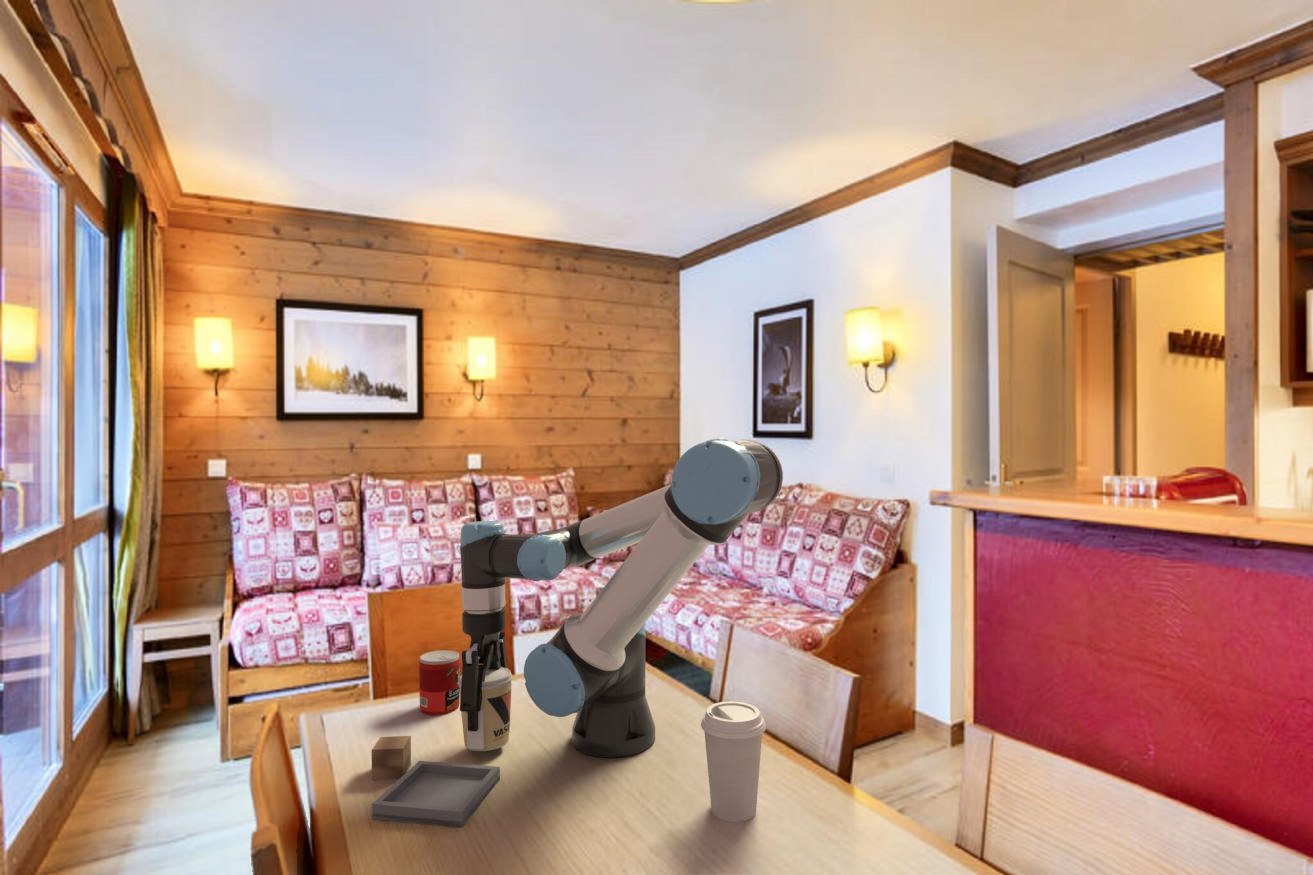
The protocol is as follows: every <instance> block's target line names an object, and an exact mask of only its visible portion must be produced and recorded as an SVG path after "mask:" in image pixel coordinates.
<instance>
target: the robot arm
mask: <svg viewBox="0 0 1313 875" xmlns="http://www.w3.org/2000/svg"><path fill="white" fill-rule="evenodd" d="M783 471H784V470H783V468H782V464H781V462H780V460H779V458H778V456H777V455H776V453H775V452H774V450H772V448H770V447H769V446H767V445H766V444H764V443H761V442H759V441H757V440H751V439H734V440H733V439H732V440H731V439H728V438H715V439H710V440H706V441H703V442H700V443H698V444H696V445H694V446H692V447H689V449H687V450H686V451H685V452H684V453H683V454H682V455H681V456H680V458H679V459H678V460H677V462H676V464H675V466H674V467H673V471H672V474H671V479H670V480H671V484H669V485H667V486H663V487H661V488H659V489H656V490H654V491H651V492H648V493H647V494H646V493H645V494H644V495H641V496H639V497H636V498H634V499H631V500H628V501H627V502H624V503H622V504H619V505H617V506H613V507H612V508H609V509H607V510H604V511H602V512H600V513H597V514H595V515H592V516H589V517H588V518H587V517H586V518H583V520H579V521H577V522H575V523H573V524H569V525H567V526H565V527H564V526H563V527H561V528H556V529H550V530H546V531H545V530H544V531H539V532H535V533H529V534H508V533H505V530H504V528H505V527H504V524H503V523H502V522H501V521H497V520H480V521H471V522H467V523H464V524H463V525H462V526H461V530H460V542H459V543H460V546H459V550H460V565H461V590H459V594H460V596H461V604H462V605H461V607H462V610H463V612H462V613H461V619H462V620H461V623H462V624H461V625H462V628H461V629H462V632H463V633H464V634H465V635H468V636H470V643H469V650H462V652H461V663H462V668H461V669H462V670H461V671H462V672H461V675H462V682H461V697H460V703H459V711H460V712H461V711H463V712H467V748H468V750H469V749H483V748H484V715H483V709H481V703H482V682H484V681H485V676H486V671H487V670H488V669H491V670H499V669H500V667H503V668H507V669H508V670H509V667H508V658H507V656H508V655H507V648H506V631H505V630H506V627H507V623H506V622H507V620H506V618H507V617H506V609H505V608H504V607H505V606H506V604H507V602H506V601H507V600H506V581H505V580H506V579H516V580H517V579H518V580H519V579H520V580H529V581H533V582H540V581H553V580H555V579H557V578H558V577H559V575H560V574H561V573H562V572H563V571H564V570H566V569H567V570H568V569H570V568H574V567H579V566H584V565H586V564H588V563H590V562H592V561H594V560H596V559H598V558H600V557H603V556H607V555H609V554H611V553H615V552H617V551H620V550H622V549H625V548H629V547H630V546H633V545H636V546H635V547H634V548H633V550H632V551H631V552H630V553H629V554H628V555H627V557H626V558H625V560H624V561H623V562H622V564H621V565H620V566H619V567H618V569H617V570H616V571H615V573H614V574H613V575H612V576H611V578H610V579H609V580H608V581H607V583H606V584H605V585H604V586H603V587H602V589H601V590H600V591H599V593H598V594H597V595H596V597H595V598H594V599H593V600H592V602H591V603H590V605H589V606H588V607H587V608H586V610H585V611H584V612H583V613H581V612H578V613H573V614H571V615H569V617H567V618H566V620H565V621H564V623H562V625H561V627H560V628H559V629H558V630H557V631H556V633H555V634H554V635H553V637H552V638H550V639H549V641H547V642H546V643H541V644H539V645H538V646H536V647H535V648H534V649H532V650H531V651H530V652H529V653H528V655H527V657H526V659H525V661H524V665H523V679H524V680H525V683H524V685H525V688H526V692H527V693H528V695H529V696H528V697H529V698H530V699H531V701H532V702H533V703H534V705H535V706H536V707H537V708H538V709H539V710H541V711H542V712H543V713H545V714H546V715H548V716H551V717H557V718H564V717H567V716H570V715H572V714H576V716H575V719H574V722H573V724H572V725H573V726H572V730H571V741H572V745H573V746H574V748H575V749H576V750H578V751H579V752H582V753H583V754H587V755H589V756H594V757H602V758H620V757H629V756H632V755H637V754H640V753H642V752H644V751H646V750H649V748H651V747H652V746H653V745H654V743H655V742H656V725H655V724H656V723H655V722H654V721H655V720H654V718H653V715H652V713H651V709H650V705H649V702H648V700H647V695H646V638H647V634H646V626H645V625H646V623H647V621H648V620H649V618H650V617H651V616H652V615H653V614H654V613H655V611H656V610H657V609H658V608H659V606H660V605H661V604H662V603H663V602H664V601H665V599H667V597H668V596H669V594H670V593H671V592H672V591H673V589H674V588H675V587H676V586H677V585H678V583H680V581H681V580H682V579H683V578H684V576H685V575H686V574H687V573H688V571H689V570H690V569H691V568H692V566H693V565H694V564H695V563H696V562H697V561H698V560H699V558H700V557H701V556H702V554H703V553H704V552H705V551H706V550H707V548H708V547H709V546H721V545H723V544H725V543H726V542H727V541H728V539H729V538H730V537H731V535H732V534H733V533H734V532H735V531H736V530H737V528H738V527H739V526H740V525H741V523H743V521H744V520H745V519H746V518H747V517H748V515H751V514H753V513H756V512H760V511H762V510H765V509H766V508H768V507H769V506H770V505H772V503H773V502H774V501H775V500H776V499H777V497H778V496H779V494H780V492H781V489H782V486H783V480H784V472H783ZM467 748H466V749H467Z"/></svg>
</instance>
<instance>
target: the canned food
mask: <svg viewBox="0 0 1313 875" xmlns="http://www.w3.org/2000/svg"><path fill="white" fill-rule="evenodd" d="M418 666H419V667H418V672H419V673H418V675H419V677H418V678H419V679H418V682H419V684H418V686H419V689H418V690H419V693H418V694H419V709H420V712H421V714H424V715H428V716H441V715H446V714H450V713H453V712H455V711H456V710H458V709H459V708H460V689H459V685H458V680H459V679H460V676H461V675H460V670H461V669H460V653H459V652H457V651H454V650H434V651H430V652H425V653H423V654H421V655H420V656H419V662H418Z"/></svg>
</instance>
